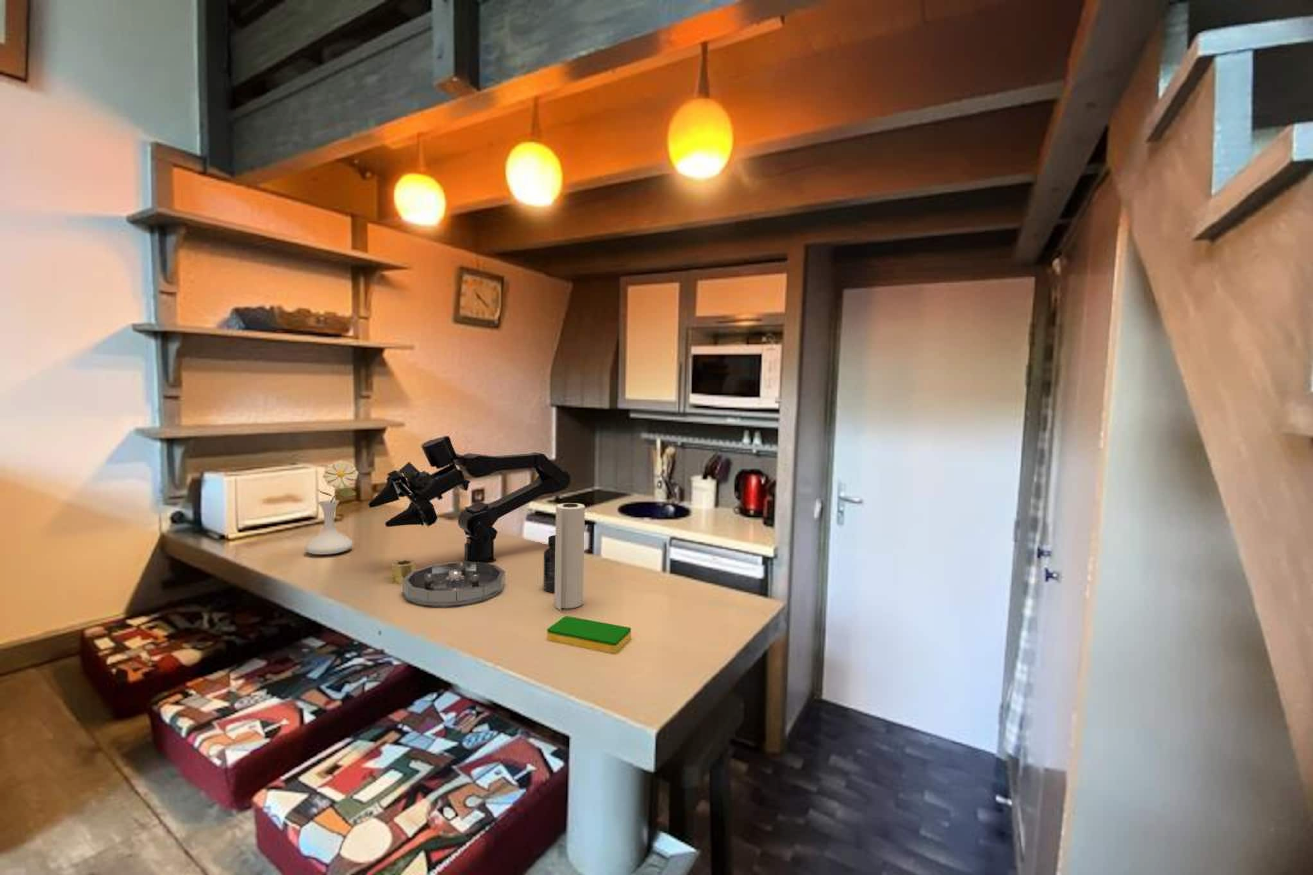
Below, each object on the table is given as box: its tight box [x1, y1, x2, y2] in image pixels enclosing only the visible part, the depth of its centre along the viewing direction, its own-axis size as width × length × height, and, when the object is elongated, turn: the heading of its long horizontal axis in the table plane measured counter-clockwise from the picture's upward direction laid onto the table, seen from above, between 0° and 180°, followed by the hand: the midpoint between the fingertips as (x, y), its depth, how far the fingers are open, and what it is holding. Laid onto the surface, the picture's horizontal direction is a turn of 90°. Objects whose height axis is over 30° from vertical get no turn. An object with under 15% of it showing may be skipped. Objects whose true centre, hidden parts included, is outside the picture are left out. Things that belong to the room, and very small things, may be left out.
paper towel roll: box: [553, 502, 586, 613], centre depth 118 cm, size 7×6×21 cm
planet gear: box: [388, 558, 417, 585], centre depth 131 cm, size 6×6×4 cm
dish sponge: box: [546, 615, 632, 654], centre depth 102 cm, size 7×14×2 cm, turn 70°
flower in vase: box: [304, 460, 359, 556], centre depth 150 cm, size 13×11×25 cm
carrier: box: [401, 561, 506, 608], centre depth 125 cm, size 21×21×4 cm
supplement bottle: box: [542, 534, 556, 594], centre depth 128 cm, size 7×7×12 cm
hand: (377, 515), depth 131 cm, fingers open, 9 cm apart
